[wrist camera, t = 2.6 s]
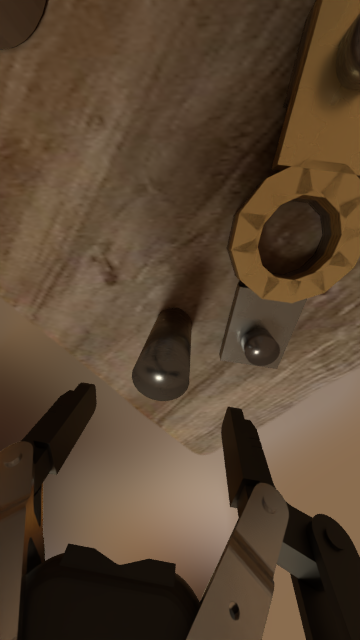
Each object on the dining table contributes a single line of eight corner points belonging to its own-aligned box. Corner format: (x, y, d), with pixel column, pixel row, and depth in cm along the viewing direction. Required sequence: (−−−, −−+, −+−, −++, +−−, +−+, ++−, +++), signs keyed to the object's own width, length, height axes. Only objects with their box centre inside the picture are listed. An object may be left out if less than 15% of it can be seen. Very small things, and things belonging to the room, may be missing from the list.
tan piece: (204, 351, 22) (205, 377, 18) (279, 4, 12) (323, -117, 8) (288, 364, 22) (308, 392, 18) (443, 23, 12) (574, -89, 8)
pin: (155, 337, 22) (131, 396, 14) (157, 305, 21) (132, 351, 12) (188, 342, 22) (184, 404, 14) (194, 310, 20) (193, 360, 12)
